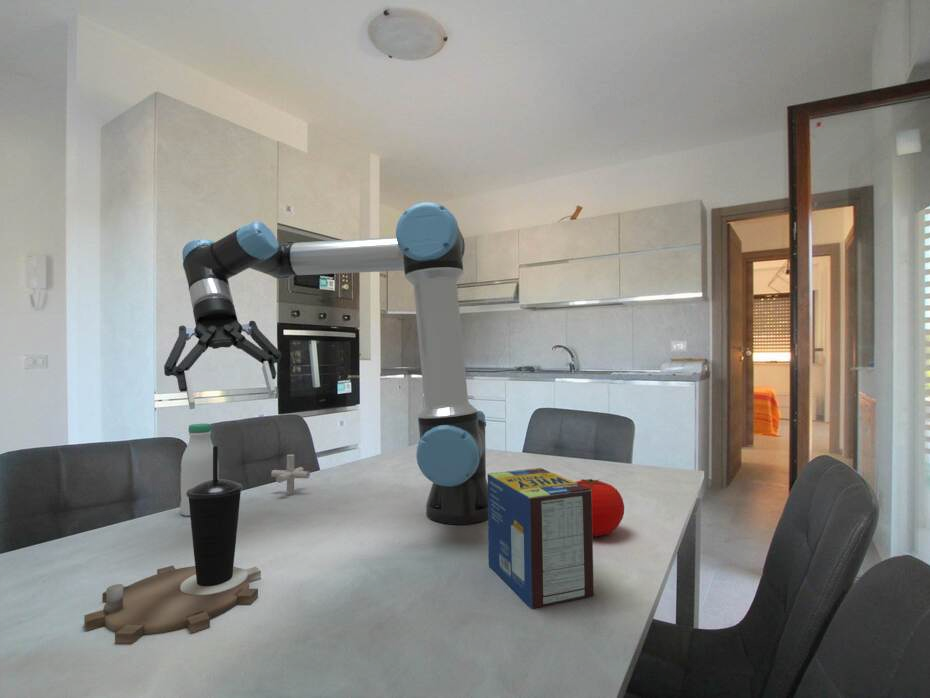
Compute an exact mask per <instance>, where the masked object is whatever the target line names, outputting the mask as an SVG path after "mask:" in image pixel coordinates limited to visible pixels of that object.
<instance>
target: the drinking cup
mask: <svg viewBox="0 0 930 698" xmlns="http://www.w3.org/2000/svg"><path fill="white" fill-rule="evenodd" d="M218 467H219V447H218V445H213V480H210V481H206V482H203V483H201V484H199V485H197V486H195V487H194V488H191V489H189V490H188V491H187V492H186V496H187V497H189V507H190V516H189V517H190V525H191V526H190V527H191V536H192V546H193V549H192V550H193V557H194V566H195V569H196V580H197V584H198V585H200V586H214V585H219V584H222V583H224V582H227V581H228V580H230V579H231V578H232V576H233V567H235V566H234V564H235V555H236V553H235V552H236V543H237V533H238V523H239V513H240V504H241V493H242V490H244V489H243V488H244V485H243V484H242V483H239V482H236V481H233V480H229V479H222V478H221V479H220V478H219V479H218Z"/></svg>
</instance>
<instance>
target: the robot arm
mask: <svg viewBox="0 0 930 698" xmlns="http://www.w3.org/2000/svg"><path fill="white" fill-rule="evenodd" d="M465 249H466V243H465V239H464V236H463V234H462V232H461V230H460V228H459V225H458V221H457V219H456V217H455V215H454V214H453V213H452V212H451V211H450V210H449V209H448V208H446V207H445V206H444V205H442V204H440V203H437V202H433V201H423V202H417V203H415V204H413V205H411V206H410V207H408V208H407V209H406V210H405V211H404V212H403V213H402V214H401V216H400V217H399V219H398V221H397V223H396V228H395V236H393V237H392V236H391V237H375V238H357V239H355V238H353V239H338V240H336V239H335V240H321V241H302V242H289V243H288V242H285V243H280V242H278V240H277V238H276V236H275V235H274V232H273V231H272V229H270V227H268V226H267V225H266V223H264V222H262V221H260V220H259V221H257V220H256V221H252V222H250V223H249V224H247V225H246V224H245V225H243V226H241V227H239V228H238V229H237V230H234V231H233V232H230V233H228V235H225V236H223V237H221V238H220V239H218V240H217V241H213V240H210V239H208V238H207V239H206V238H200V239H199V240H196V239H193V240H191V241H189V242H188V243H186V244H185V245H184V246H183V249H182V268H183V270H184V274H185V276H186V280H187V285H188V291H189V297H190V304H191V308H192V312H193V313H192V314H193V318H194V319H193V320H194V322H195V327H194V328H192V327H191V328H187V327H186V326H185V325H179V326H178V337H177V339H176V341H175V343H174V345H173V347H172V349H171V351H170V353H169V356H168V357H167V359H166V362H165V364H164V365H163V370H164V371H163V372H164V375H165V376H167V377H170V376H174V377H176V380H177V386H178V391H179V392H180V393H183V392H185V393H186V395H187V400H188V407H189V410H194V409H195V408H196V407H195V406H196V401H195V395H194V390H193V385H192V379H191V374H190V369H191V368H192V366H194V364H195V363H196V362H197V360H198V359H199V358H200V357H201V356H202V355H203V354H204V353H205V352H206V351H207V350H208V348H212V350H215V349H217V350H218V349H220V348H231V346H233V347H234V348H236V349H238V350H241V351H243V352H244V353H246V354H247V355H249V356H251V357H252V358H253V359H254V360H256V361H258V362H259V363H261V364H262V367H261V370H262V374H263V377H264V382H265V386H266V390H267V392H268V397H269V398H270V397H271V398H272V397H274V395H275V392H276V386H275V384H274V380H275V379H276V377H277V370H276V366H275V364H279V363H280V362H281V358H282V353H281V351H280V350H279V349H278V348H277V347H276V346H275V345H274V344H273V343H272V342H271V341H270V340H269V339H268V338H267V336H266V335H265V334H264V333H263V332H261V330H260V329H259V328H258V325H257V322H256V321H254V320H250V321H249V323H245V324H241V323H240V322H239V320H238V316H237V313H236V312H237V311H236V309H235V305H234V300H233V295H232V293H231V288H230V283H229V279H230V278H232V277H234V276H236V275H238V274H240V273H242V272H244V271H246V270H248V269H251V270H253V271H257V272H260V273H263V274H265V275H269V276H271V277H272V278H275V279H282V280H288V279H291V278H294V277H295V276H308V275H309V276H311V275H331V274H332V275H333V274H356V273H357V274H358V273H376V272H398V271H399V272H401V271H402V272H403V273H404V278H405V280H407V281H408V282H409V283H410V284H411V285H412V286H413V294H414V303H415V315H416V324H417V336H418V338H417V339H418V348H419V357H420V368H421V377H422V390H423V398H424V399H423V400H424V402H423V403H424V406H423V408H422V410H421V411H420V412H419V414H418V416H417V419H418V420H417V421H418V433H419V440H418V443H417V447H416V454H415V456H416V462H417V465H418V468H419V470H420V471H421V473H422V474H423V476H424V477H425V478H426V479H427V480H428V481H430V482H432V484H431V487H430V491H429V493H428V494H429V495H428V498H427V500H426V506H425V508H426V509H425V510H426V512H425V515H426V517H427V518H428V519H429V520H431V521H433V522H437V523H441V524H449V525H470V524H477V523H482V522H484V521H488V480H487V474H486V473H487V471H486V469H487V465H486V461H487V460H486V453H487V452H486V427H487V421H486V415H485V413H484V412H483V411H481V410H477V408H475V406H473V405H472V404H471V403H470V402H469V398H468V397H469V395H468V383H467V377H466V366H465V365H466V364H465V356H464V355H465V354H464V344H463V334H462V323H461V314H460V313H461V312H460V302H459V292H458V281H459V280H460V278H461V277H462V275H463V274H464V266H463V258H464V254H465ZM242 332H244V333H246V335H247V336H250V338H251V339H252V341H254V342H255V343H256V344H257V345H256V344H254V343H253V342H251V341H250V340H248V338H246V337H245V335H243V334H242ZM193 336H194V337H195V338H197V339H198V341H197V343H196V344H195V345H194V346H193V348H192V349H191V350H190V351H189V352H188V354H187V355H185V357H184V358H183V359H182V361H180V363H178V362H179V359H180V357H181V355H182V354H183V351H184V349H185V348H186V344H187V341H189V340H191V338H192V337H193ZM177 364H178V365H177Z"/></svg>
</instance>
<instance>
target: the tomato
mask: <svg viewBox="0 0 930 698" xmlns="http://www.w3.org/2000/svg"><path fill="white" fill-rule="evenodd" d="M600 480H601V479H600V478H599V479H593V478H592V479H591V478H589V479H587V478H586V479H583V478H581V479H580V480H578V481H574V482H575V483H578V484H580V485H583V486H586V487H588V488H590V489H591V490H592V537H599V536H600V537H601V536H604V535H607V534H610V533H612V532H614V531H615V530H616V529H617V528H618V527H619V525H620V523H621V521H622V520H623V519H624V514H625V503H624V499H623V497H622V495H621V493H620V492H619V490H618V489H617V488H615V487H614V486H613V485H611V484H609V483H608V482H607V483H606V482H603V481H602V480H601V481H600Z"/></svg>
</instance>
